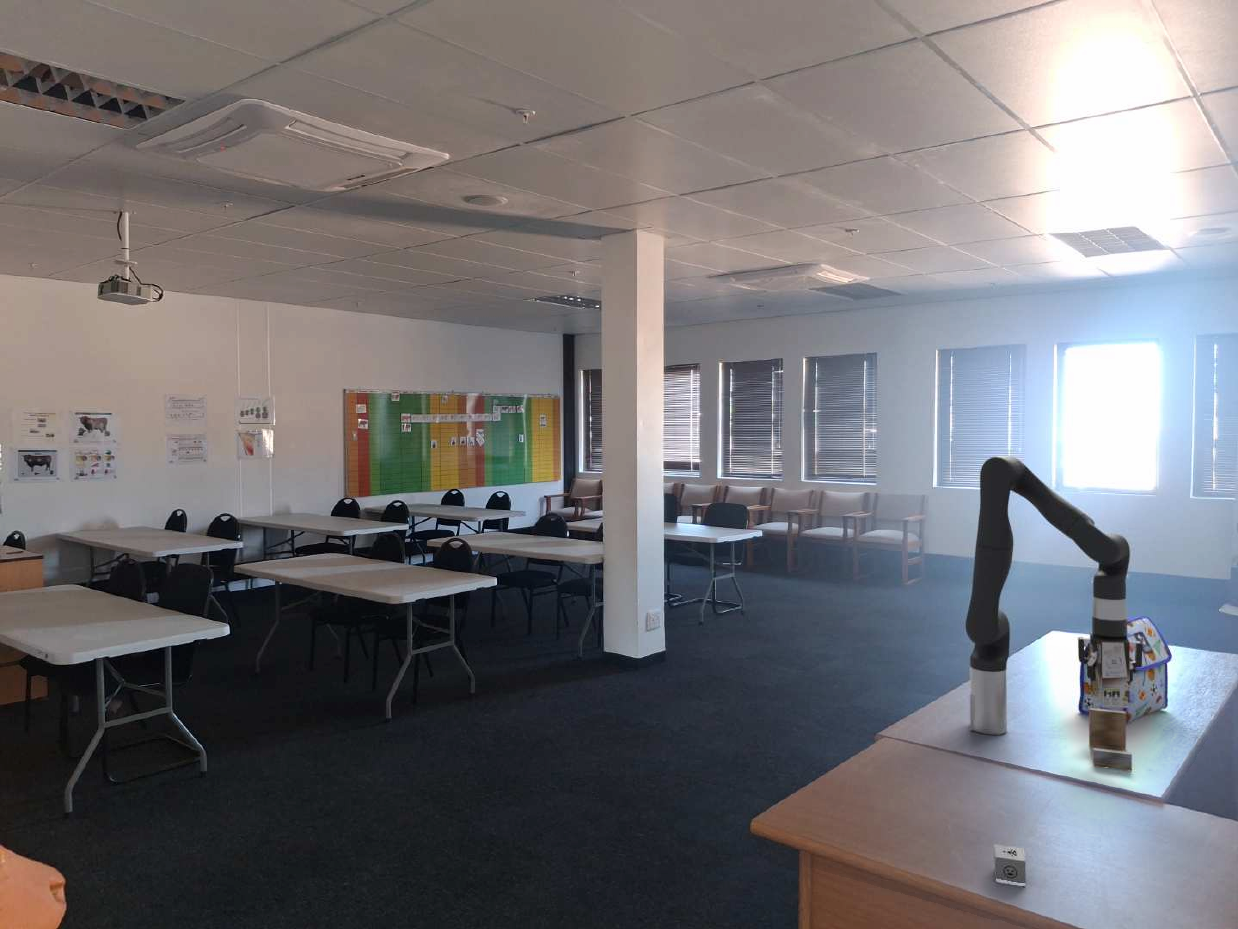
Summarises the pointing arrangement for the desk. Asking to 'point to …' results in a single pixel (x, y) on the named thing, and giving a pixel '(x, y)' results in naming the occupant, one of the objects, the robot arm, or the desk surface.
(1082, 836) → the desk surface
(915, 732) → the desk surface
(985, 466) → the robot arm
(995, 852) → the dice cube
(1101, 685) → the coffee box
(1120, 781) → the desk surface
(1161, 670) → the lunch bag
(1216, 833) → the desk surface
